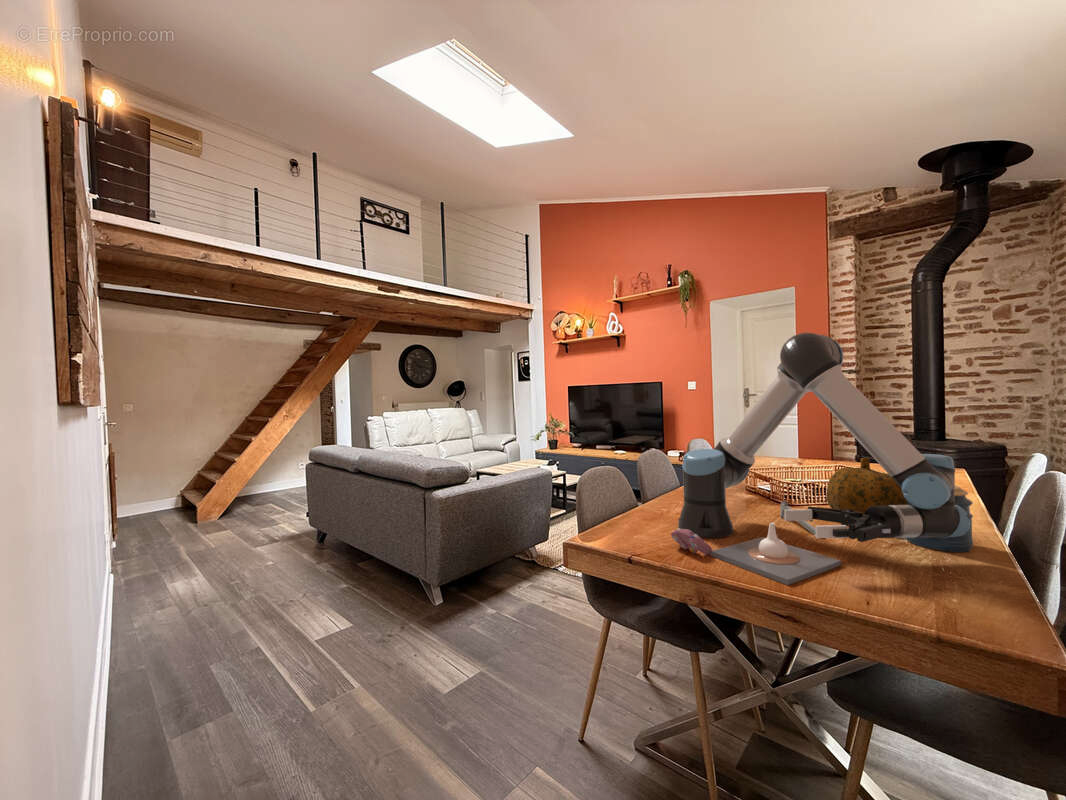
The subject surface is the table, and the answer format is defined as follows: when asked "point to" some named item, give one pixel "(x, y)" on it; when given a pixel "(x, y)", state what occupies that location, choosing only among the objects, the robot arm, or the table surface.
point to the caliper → (803, 523)
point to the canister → (950, 543)
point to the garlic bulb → (773, 545)
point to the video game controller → (690, 541)
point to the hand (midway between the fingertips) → (799, 523)
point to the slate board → (776, 561)
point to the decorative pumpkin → (863, 489)
